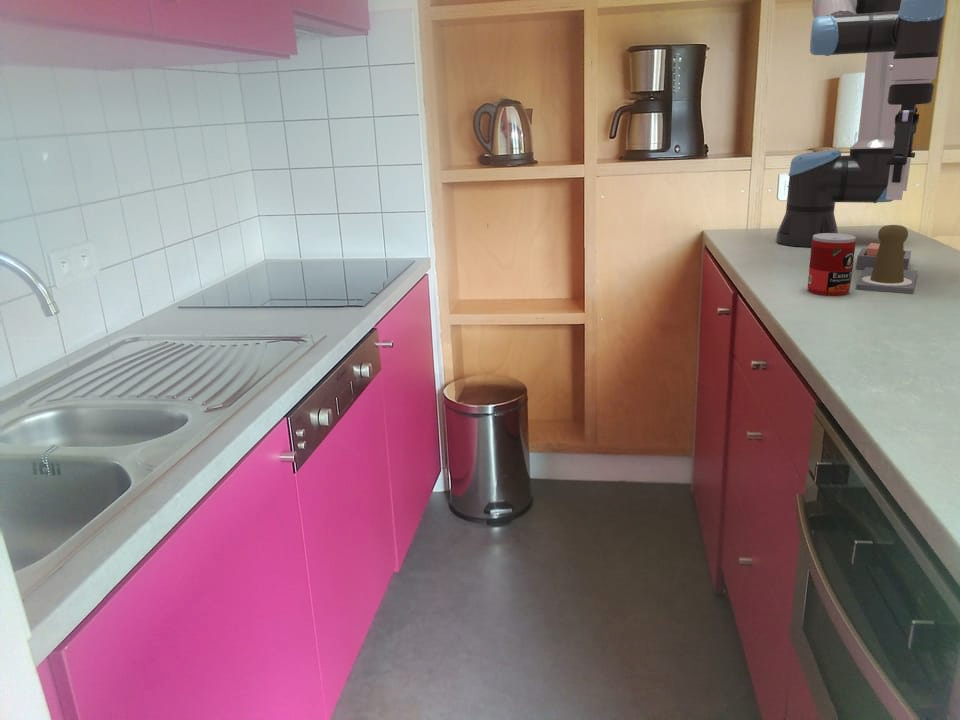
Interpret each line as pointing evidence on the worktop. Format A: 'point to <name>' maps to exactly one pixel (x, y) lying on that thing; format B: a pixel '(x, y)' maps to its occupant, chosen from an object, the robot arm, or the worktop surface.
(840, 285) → the canned food
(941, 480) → the worktop surface
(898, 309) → the worktop surface
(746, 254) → the worktop surface
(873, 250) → the button
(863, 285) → the slate board
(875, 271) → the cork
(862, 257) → the button housing
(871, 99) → the robot arm
